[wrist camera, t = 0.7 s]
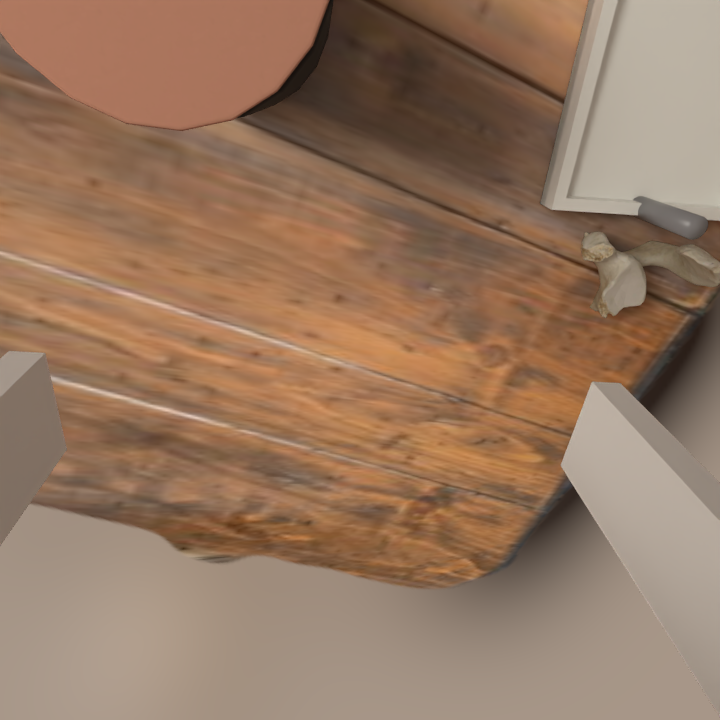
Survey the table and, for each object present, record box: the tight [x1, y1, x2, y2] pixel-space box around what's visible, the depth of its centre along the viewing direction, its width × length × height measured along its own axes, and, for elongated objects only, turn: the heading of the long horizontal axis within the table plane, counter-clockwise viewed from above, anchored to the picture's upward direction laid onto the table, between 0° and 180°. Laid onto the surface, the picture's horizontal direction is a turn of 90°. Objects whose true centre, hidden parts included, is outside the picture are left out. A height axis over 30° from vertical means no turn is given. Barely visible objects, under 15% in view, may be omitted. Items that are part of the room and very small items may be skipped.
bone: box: [581, 232, 720, 318], centre depth 34 cm, size 9×6×10 cm
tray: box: [540, 0, 720, 239], centre depth 29 cm, size 17×14×7 cm
